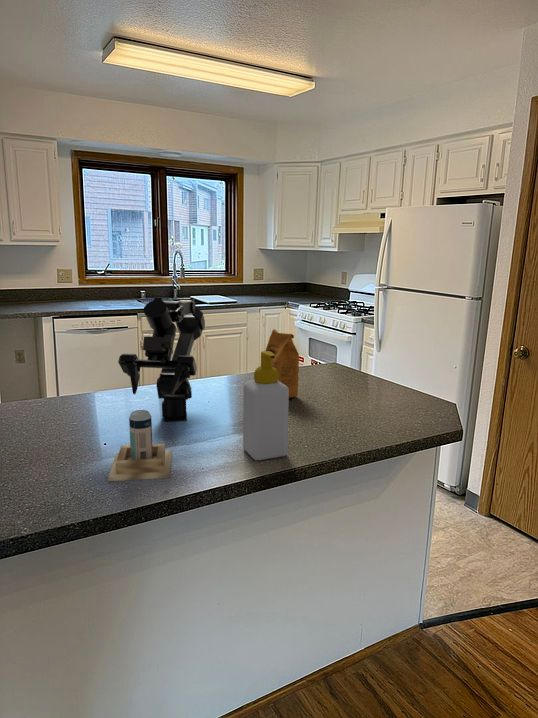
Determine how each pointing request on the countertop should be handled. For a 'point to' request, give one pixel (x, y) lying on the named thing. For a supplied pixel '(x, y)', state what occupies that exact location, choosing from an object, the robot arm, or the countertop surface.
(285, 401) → the soap bottle
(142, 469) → the socket board
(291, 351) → the coffee package
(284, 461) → the countertop surface
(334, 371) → the countertop surface
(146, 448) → the beer can
